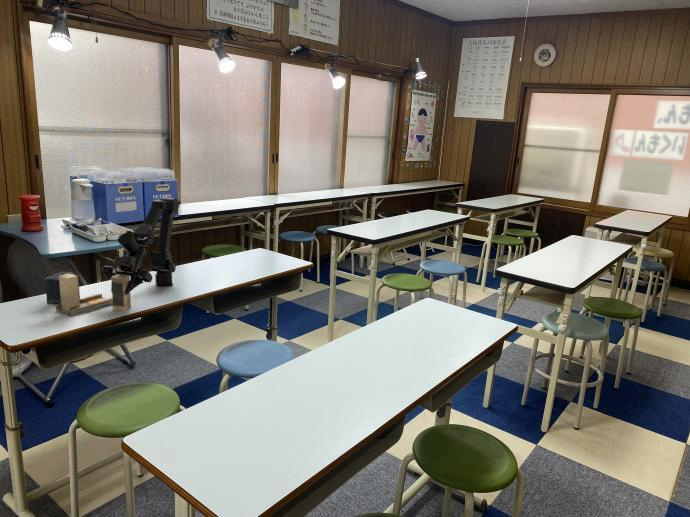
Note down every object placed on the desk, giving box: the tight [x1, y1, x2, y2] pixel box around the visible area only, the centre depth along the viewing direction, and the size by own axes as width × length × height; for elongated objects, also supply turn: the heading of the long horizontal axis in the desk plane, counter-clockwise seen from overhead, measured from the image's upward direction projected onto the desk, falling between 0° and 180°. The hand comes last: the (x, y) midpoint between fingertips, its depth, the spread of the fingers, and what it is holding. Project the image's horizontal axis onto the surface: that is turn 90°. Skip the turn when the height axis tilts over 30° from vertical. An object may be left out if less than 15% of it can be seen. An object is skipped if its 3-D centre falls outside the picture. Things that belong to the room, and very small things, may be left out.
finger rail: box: [55, 274, 113, 317], centre depth 193 cm, size 18×9×14 cm, turn 151°
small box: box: [44, 270, 76, 305], centre depth 199 cm, size 11×6×10 cm, turn 179°
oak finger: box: [110, 274, 132, 311], centre depth 194 cm, size 5×5×13 cm
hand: (119, 293), depth 193 cm, fingers open, 5 cm apart
